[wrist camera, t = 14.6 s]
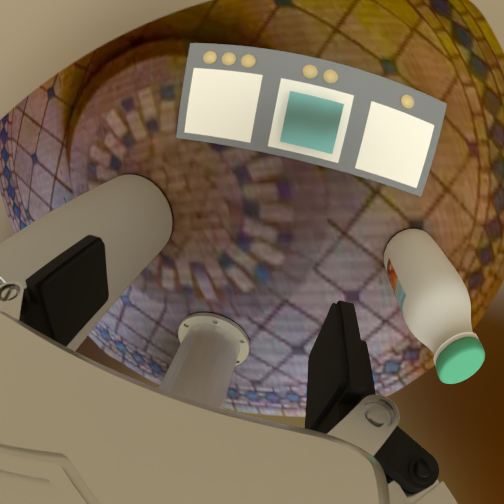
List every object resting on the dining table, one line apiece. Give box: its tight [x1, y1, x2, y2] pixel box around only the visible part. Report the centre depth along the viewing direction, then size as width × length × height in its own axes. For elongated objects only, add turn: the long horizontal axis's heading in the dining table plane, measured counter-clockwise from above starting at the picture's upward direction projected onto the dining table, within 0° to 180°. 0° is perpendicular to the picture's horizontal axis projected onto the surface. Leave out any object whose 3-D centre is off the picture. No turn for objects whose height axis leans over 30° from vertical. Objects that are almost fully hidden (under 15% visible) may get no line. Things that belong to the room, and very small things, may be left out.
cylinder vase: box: [0, 174, 172, 351], centre depth 29 cm, size 12×12×25 cm
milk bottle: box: [384, 229, 485, 384], centre depth 26 cm, size 8×8×20 cm
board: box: [176, 43, 447, 197], centre depth 28 cm, size 12×30×2 cm, turn 80°
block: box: [280, 91, 344, 154], centre depth 26 cm, size 5×5×5 cm
